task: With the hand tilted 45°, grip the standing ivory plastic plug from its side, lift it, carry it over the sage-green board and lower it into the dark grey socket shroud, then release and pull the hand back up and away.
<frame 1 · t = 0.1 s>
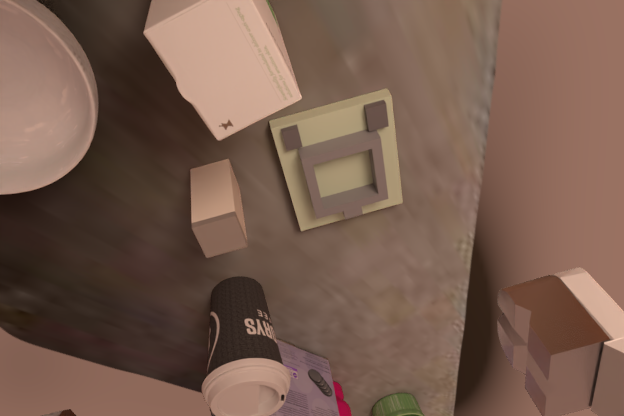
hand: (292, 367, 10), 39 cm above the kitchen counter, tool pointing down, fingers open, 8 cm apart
coffee cup: (237, 293, 66), on the kitchen counter
ramekin: (393, 403, 92), on the kitchen counter
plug: (215, 178, 54), on the kitchen counter
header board: (339, 160, 55), on the kitchen counter
pepper mill: (322, 390, 84), on the kitchen counter
cake pan box: (269, 347, 74), on the kitchen counter
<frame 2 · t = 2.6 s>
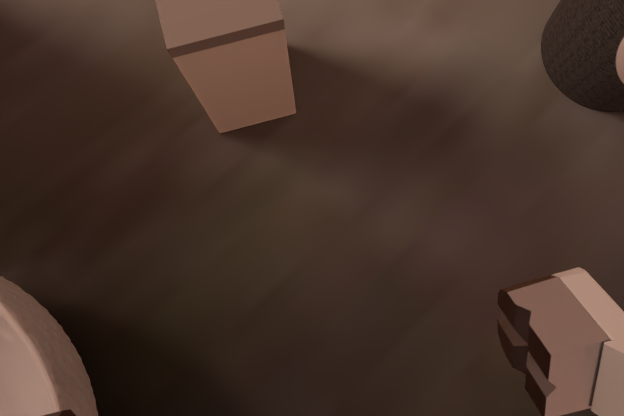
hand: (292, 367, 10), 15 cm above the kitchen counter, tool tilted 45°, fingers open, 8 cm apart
coffee cup: (603, 52, 27), on the kitchen counter
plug: (248, 87, 27), on the kitchen counter
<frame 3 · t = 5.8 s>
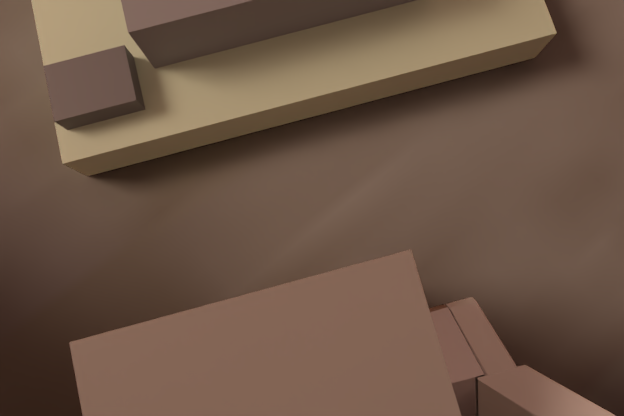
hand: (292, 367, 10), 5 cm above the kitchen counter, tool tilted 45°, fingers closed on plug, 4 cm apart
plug: (309, 366, 14), on the kitchen counter, touching gripper
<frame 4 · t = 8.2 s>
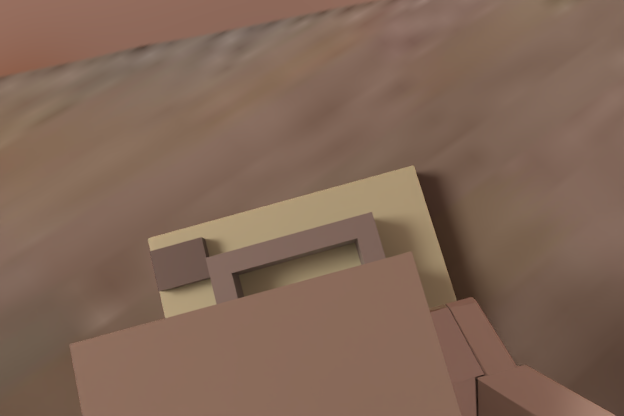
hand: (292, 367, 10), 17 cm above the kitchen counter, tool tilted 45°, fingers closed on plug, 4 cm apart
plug: (309, 367, 14), point 12 cm above the kitchen counter, touching gripper
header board: (313, 316, 27), on the kitchen counter
when the fingers open (7 cm above the kitchen counter, at t = 11.0 s): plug stays where it is, resting on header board.
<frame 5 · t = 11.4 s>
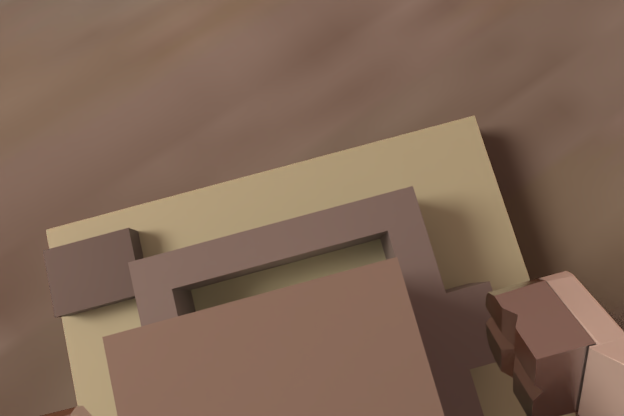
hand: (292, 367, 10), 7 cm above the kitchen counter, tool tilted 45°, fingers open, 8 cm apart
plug: (309, 362, 15), point 1 cm above the kitchen counter, touching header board
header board: (312, 356, 17), on the kitchen counter
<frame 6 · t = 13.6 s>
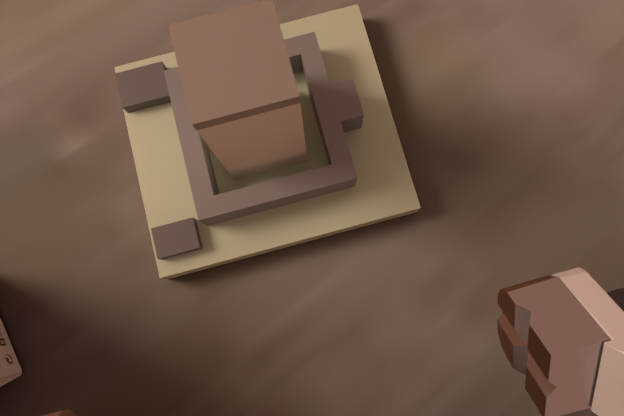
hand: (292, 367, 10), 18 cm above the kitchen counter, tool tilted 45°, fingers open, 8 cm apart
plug: (261, 135, 28), point 1 cm above the kitchen counter, touching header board
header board: (265, 143, 29), on the kitchen counter
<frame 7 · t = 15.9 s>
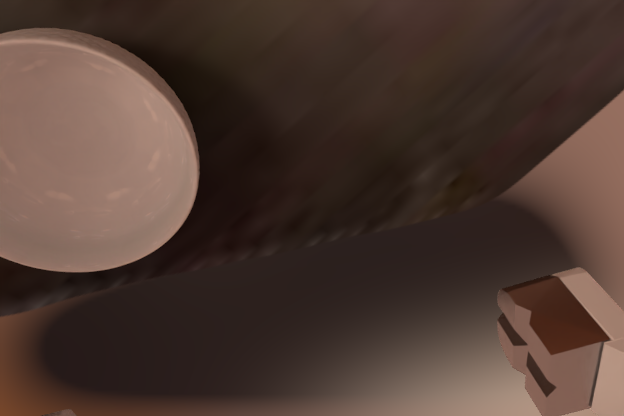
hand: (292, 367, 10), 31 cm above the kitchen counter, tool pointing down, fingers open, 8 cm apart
cereal bowl: (83, 124, 39), on the kitchen counter
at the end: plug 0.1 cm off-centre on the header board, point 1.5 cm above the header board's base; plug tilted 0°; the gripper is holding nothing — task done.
